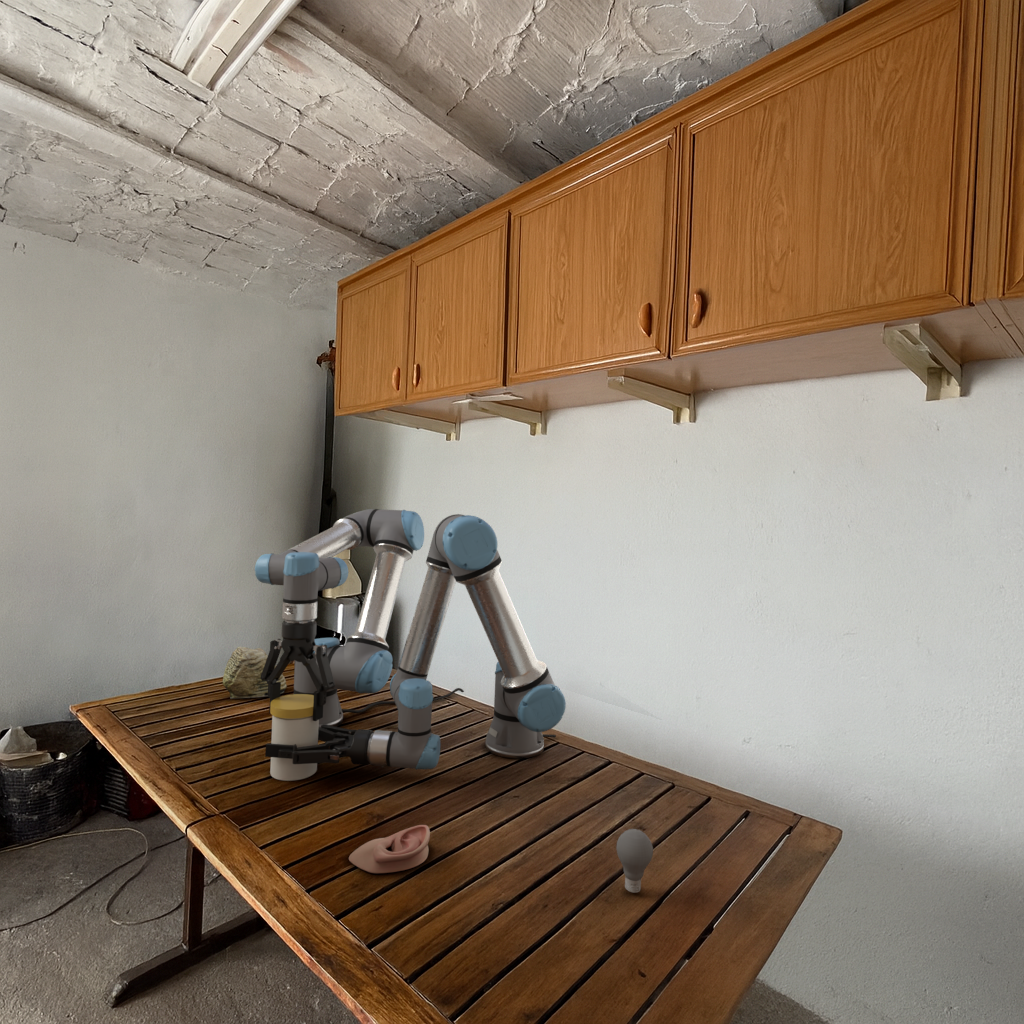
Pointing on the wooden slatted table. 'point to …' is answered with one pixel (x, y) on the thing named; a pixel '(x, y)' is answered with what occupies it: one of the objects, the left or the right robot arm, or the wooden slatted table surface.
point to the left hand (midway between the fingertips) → (295, 715)
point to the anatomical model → (393, 851)
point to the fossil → (247, 674)
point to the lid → (292, 706)
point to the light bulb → (634, 857)
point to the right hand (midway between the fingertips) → (277, 740)
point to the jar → (291, 734)
